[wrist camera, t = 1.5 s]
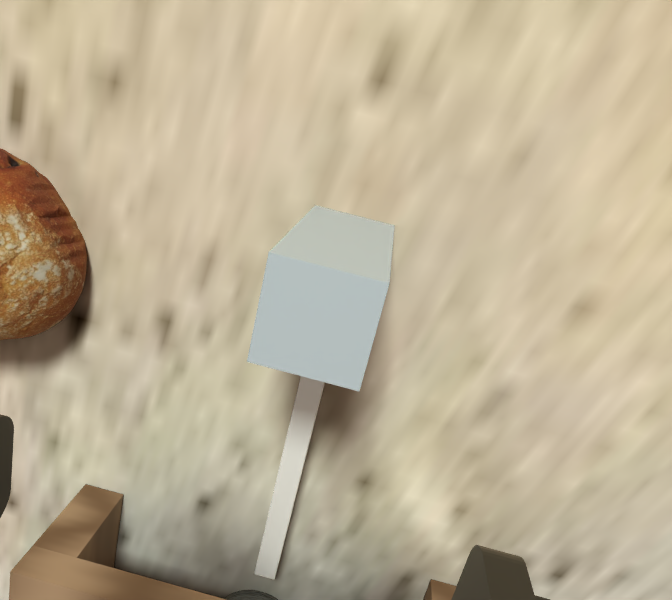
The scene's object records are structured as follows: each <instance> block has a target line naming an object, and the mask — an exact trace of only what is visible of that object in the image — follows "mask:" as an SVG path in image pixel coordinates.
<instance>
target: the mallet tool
mask: <svg viewBox="0 0 672 600" xmlns="http://www.w3.org/2000/svg"><path fill="white" fill-rule="evenodd" d="M394 226H395V225H391V224H387V223H383V222H379V221H375V220H371V219H367V218H363V217H359V216H355V215H351V214H347V213H343V212H339V211H336V210H332V209H328V208H324V207H320V206H316V205H315V206H314V207H313V208H312V209H311V210H310V211H309V212H308V213H307V214H306V215H305V216H304V217H303V218H302V219H301V220H300V221H299V222H298V223H297V224H296V225H295V226H294V227H293V228H292V229H291V230H290V231H289V232H288V233H287V234H286V235H285V236H284V237H283V238H282V239H281V240H280V241H279V242H278V243H277V244H276V245H275V246H274V247H273V248H272V249H271V250H270V251H269V254H268V259H267V264H266V269H265V274H264V279H263V284H262V289H261V294H260V299H259V304H258V309H257V314H256V319H255V324H254V329H253V334H252V339H251V344H250V349H249V354H248V359H247V362H250V363H254V364H257V365H261V366H265V367H269V368H272V369H276V370H280V371H284V372H288V373H291V374H295V375H299V376H301V378H300V382H299V386H298V391H297V395H296V399H295V403H294V407H293V412H292V416H291V420H290V424H289V429H288V433H287V437H286V441H285V445H284V450H283V454H282V458H281V462H280V467H279V471H278V475H277V479H276V484H275V488H274V492H273V496H272V500H271V505H270V509H269V513H268V517H267V522H266V526H265V530H264V534H263V538H262V543H261V547H260V551H259V555H258V560H257V564H256V568H255V572H254V574H255V575H259V576H262V577H266V578H269V579H273V580H274V579H275V575H276V572H277V568H278V565H279V561H280V558H281V554H282V550H283V546H284V542H285V538H286V535H287V531H288V527H289V523H290V519H291V515H292V511H293V507H294V503H295V499H296V495H297V491H298V487H299V483H300V479H301V475H302V471H303V467H304V464H305V460H306V456H307V452H308V448H309V444H310V440H311V436H312V432H313V428H314V424H315V420H316V416H317V412H318V408H319V404H320V400H321V396H322V393H323V389H324V385H325V383H329V384H333V385H337V386H340V387H344V388H348V389H352V390H355V391H360V388H361V384H362V380H363V377H364V373H365V370H366V366H367V362H368V359H369V355H370V352H371V348H372V344H373V341H374V337H375V334H376V330H377V326H378V323H379V319H380V316H381V312H382V308H383V305H384V301H385V298H386V294H387V290H388V287H389V283H390V272H391V260H392V249H393V238H394Z"/></svg>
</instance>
